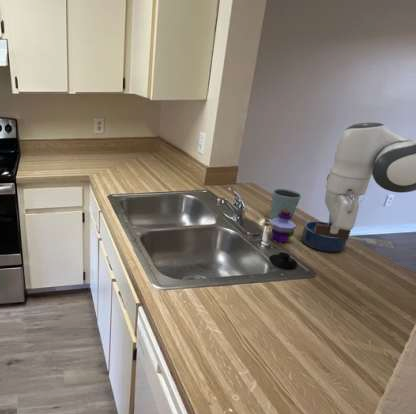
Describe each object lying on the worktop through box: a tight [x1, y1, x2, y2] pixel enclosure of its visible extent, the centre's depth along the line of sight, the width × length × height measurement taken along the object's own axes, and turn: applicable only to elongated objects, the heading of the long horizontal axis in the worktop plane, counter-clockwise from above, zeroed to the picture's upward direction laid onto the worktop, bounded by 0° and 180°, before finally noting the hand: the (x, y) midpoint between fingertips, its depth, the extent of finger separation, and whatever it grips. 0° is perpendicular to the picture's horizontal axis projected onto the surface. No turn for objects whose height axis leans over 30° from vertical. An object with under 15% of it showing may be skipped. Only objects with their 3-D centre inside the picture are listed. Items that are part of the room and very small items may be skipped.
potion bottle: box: [270, 209, 297, 244], centre depth 122 cm, size 9×9×12 cm
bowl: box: [300, 220, 348, 253], centre depth 120 cm, size 13×13×6 cm
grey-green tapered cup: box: [268, 188, 302, 222], centre depth 138 cm, size 10×10×12 cm
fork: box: [314, 223, 395, 249], centre depth 92 cm, size 18×3×3 cm, turn 64°
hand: (332, 230), depth 94 cm, fingers closed on fork, 2 cm apart
